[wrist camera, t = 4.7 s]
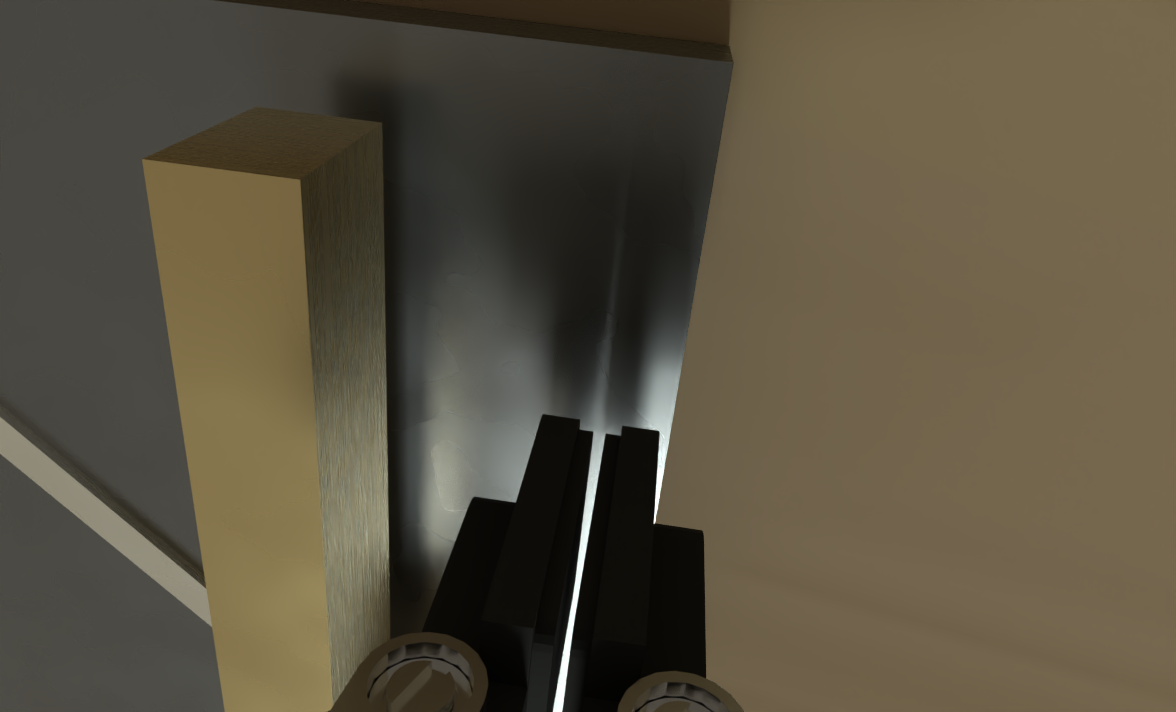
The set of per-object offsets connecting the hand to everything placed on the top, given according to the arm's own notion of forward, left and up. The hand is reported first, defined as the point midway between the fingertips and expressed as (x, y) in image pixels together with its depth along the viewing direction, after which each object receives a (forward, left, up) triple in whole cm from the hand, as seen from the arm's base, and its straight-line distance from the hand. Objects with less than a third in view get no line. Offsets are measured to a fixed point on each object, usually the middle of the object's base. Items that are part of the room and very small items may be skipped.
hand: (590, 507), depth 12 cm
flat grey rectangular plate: (+6, +6, -3) cm, 9 cm away
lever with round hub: (+4, +3, -1) cm, 5 cm away
